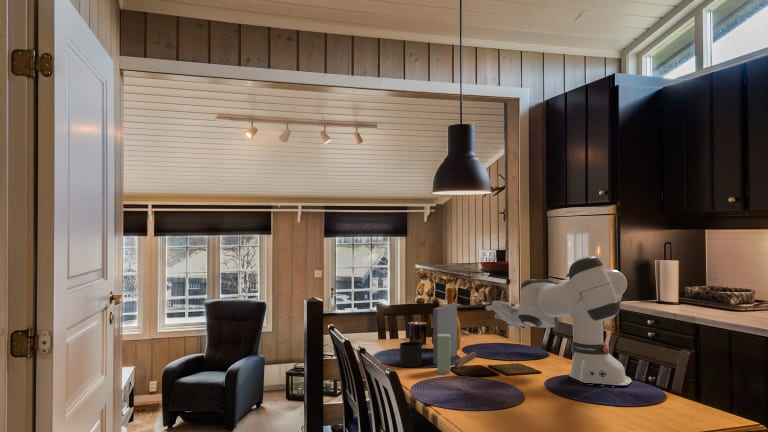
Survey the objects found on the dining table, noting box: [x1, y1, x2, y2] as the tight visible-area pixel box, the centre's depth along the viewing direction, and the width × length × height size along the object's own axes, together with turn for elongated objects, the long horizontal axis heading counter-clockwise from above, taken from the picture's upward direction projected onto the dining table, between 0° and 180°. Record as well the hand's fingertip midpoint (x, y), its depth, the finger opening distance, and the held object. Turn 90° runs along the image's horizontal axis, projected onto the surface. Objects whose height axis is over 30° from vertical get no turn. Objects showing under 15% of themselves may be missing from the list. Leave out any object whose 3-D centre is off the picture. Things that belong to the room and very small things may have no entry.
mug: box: [399, 341, 423, 368], centre depth 230 cm, size 9×12×9 cm
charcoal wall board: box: [432, 302, 477, 368], centre depth 237 cm, size 12×22×24 cm, turn 150°
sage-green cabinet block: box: [436, 334, 451, 375], centre depth 218 cm, size 5×5×15 cm
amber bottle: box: [446, 287, 461, 351], centre depth 262 cm, size 10×10×30 cm
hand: (490, 312), depth 233 cm, fingers open, 8 cm apart
